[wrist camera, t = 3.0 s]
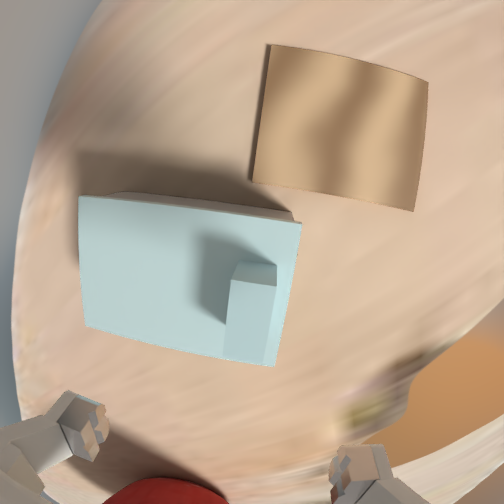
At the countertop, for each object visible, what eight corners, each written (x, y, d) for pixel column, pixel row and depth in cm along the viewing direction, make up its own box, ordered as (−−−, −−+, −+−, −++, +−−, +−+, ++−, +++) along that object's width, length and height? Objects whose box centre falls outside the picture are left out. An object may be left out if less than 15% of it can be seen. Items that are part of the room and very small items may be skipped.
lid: (301, 222, 19) (307, 237, 15) (274, 360, 22) (272, 398, 18) (84, 194, 20) (48, 203, 16) (90, 321, 23) (62, 346, 18)
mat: (425, 83, 20) (428, 82, 20) (410, 210, 24) (413, 211, 23) (271, 47, 21) (271, 44, 20) (252, 182, 24) (252, 182, 24)
